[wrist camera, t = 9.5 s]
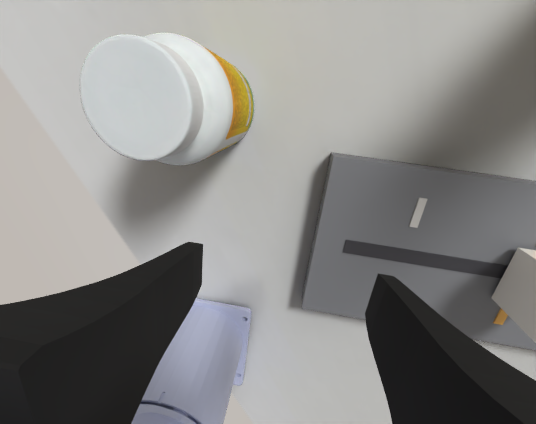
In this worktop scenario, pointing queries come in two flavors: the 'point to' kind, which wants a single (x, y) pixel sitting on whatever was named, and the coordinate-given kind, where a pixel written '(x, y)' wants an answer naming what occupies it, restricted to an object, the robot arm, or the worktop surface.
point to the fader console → (420, 241)
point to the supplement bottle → (164, 98)
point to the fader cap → (519, 291)
